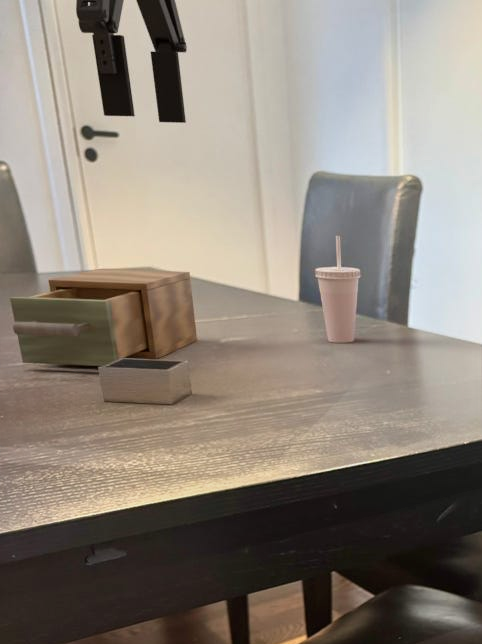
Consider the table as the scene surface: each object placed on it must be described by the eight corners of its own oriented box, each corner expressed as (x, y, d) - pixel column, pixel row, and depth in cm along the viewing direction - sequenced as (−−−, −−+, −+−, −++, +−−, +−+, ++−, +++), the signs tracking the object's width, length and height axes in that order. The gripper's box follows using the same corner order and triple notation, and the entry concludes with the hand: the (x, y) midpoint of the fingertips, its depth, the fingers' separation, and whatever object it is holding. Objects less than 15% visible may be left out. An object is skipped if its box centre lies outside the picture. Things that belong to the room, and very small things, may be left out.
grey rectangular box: (103, 401, 96) (97, 367, 94) (126, 390, 100) (121, 357, 99) (172, 404, 95) (168, 370, 94) (192, 393, 100) (188, 360, 98)
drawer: (99, 374, 103) (87, 306, 100) (2, 369, 104) (-12, 302, 101) (161, 347, 119) (153, 288, 116) (76, 343, 120) (66, 284, 117)
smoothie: (328, 345, 129) (322, 237, 122) (312, 338, 133) (306, 234, 127) (370, 342, 131) (366, 237, 125) (353, 335, 136) (349, 233, 130)
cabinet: (156, 359, 117) (146, 283, 112) (61, 354, 117) (47, 279, 113) (197, 340, 130) (189, 271, 125) (111, 336, 130) (101, 268, 126)
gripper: (91, -194, 72) (133, 113, 82) (200, -109, 95) (223, 125, 104) (0, -194, 73) (52, 112, 83) (130, -110, 95) (159, 124, 105)
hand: (147, 119), depth 94 cm, fingers open, 13 cm apart
